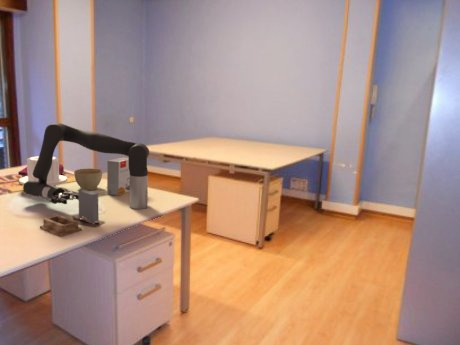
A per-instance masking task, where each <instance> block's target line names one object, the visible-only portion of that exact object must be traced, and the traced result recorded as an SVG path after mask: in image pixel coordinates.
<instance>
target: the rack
mask: <svg viewBox="0 0 460 345" xmlns="http://www.w3.org/2000/svg"><path fill="white" fill-rule="evenodd" d="M42 222H43V224H42V225H39V229H40V230H44V231H47V232H49V233H51V234H53V235H56V236H58V237H60V238H61V237H65V236H68V235H71V234H75V233H77V232H80V231H83V228H82V227H80V226H79V221H78V220H74V219H72V218H69V217H67V216H64V215H60V214H58V215H53V216H51V217H47V218H43V221H42Z"/></svg>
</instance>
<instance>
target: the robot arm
mask: <svg viewBox="0 0 460 345" xmlns="http://www.w3.org/2000/svg"><path fill="white" fill-rule="evenodd" d="M42 140H43V141H42V145H41V148H40V151H39V155H38V156H39V158H38V160H37V163H36V165H35V168H34V171H33V176H34V177H35V178H38V179H39V180H38V181H27V182H26V183H25V184H24V185H23V186H22V189H23V191H24V193H25V194H26V195H28V196H35V197H39V198H41V199H45V200H47V201H48V202H49V203H52V204H54V205H56V204H63V205H68V201H73V200H78V201H79V196H78V191H74V190H73V191H71V192H69V191H66V190H65V189H64V188H62V187H59V186H57V185H56V186H51V185H47V176H48V173H49V171H50V168H51V165H52V159H53V157H54V152H55V149H56V148H57V147H58V144H59V142H69V143H74V144H77V145H80V146H82V147H83V148H86V149H87V150H89V151H94V152H97V153H103V154H115V155H123V156H127V158H129V171H130V192H129V208H130V209H134V210H142V209H148V202H149V201H148V196H149V195H148V193H149V192H148V191H149V190H148V186H149V185H148V181H149V178H148V177H149V170H148V162H147V161H148V158H149V156H150V150H149V147H148V146H147V144H144V143H139V142H133V141H127V140H123V139H119V138H117V137H116V138H115V137H113V136H111V135H106V134H103V133H99V132H94V131H88V130H82V129H79V128H75V127H72V126H69V125H68V124H64V123H60V122H55V123H51V124H48V125H47V126H46V128H45V130H44V135H43V139H42Z"/></svg>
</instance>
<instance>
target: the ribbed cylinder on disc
mask: <svg viewBox="0 0 460 345" xmlns="http://www.w3.org/2000/svg"><path fill="white" fill-rule="evenodd" d="M38 158H39V155H38V156H31V157H28V158H27V159H26V167H27V173H28V176H25V177H22V176H21V178H19V180H18V183H19V184H20V185H23V186H24V184H25V183H26V182H27V181H38V180H39V179H38V178H35V177H34V176H33V171H34V168H35V165H36V163H37V160H38ZM59 162H60V160H59V158H58V157H57V156H53V159H52V165H51V168H50V171H49V173H48V176H47V185H51V186H56V187H57V185H62V184H65V183H67V181H68V177H67V176H66V175H63V174H62V175H59V164H60V163H59Z"/></svg>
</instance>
